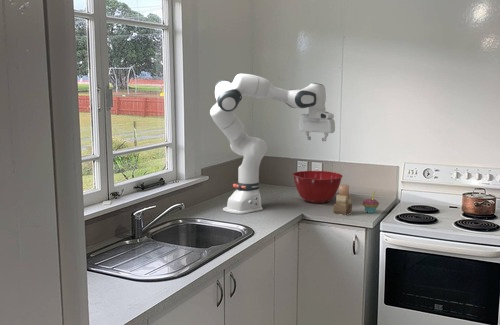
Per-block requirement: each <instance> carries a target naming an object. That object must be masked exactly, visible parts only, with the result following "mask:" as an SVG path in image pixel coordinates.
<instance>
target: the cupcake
mask: <svg viewBox="0 0 500 325" xmlns="http://www.w3.org/2000/svg"><path fill="white" fill-rule="evenodd" d="M375 191H376V190H374V191H373V192H372V198H366V199H364V200H363V201H362V204H361V205H362V206H363V208H364V210H365V213H367V212H368V213H367V214H375V213H376V211H377V208H378V207H379V206H380V202H379V201H378V200H376V199H375V194H376V192H375ZM374 212H375V213H374Z"/></svg>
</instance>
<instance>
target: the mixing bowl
mask: <svg viewBox="0 0 500 325" xmlns="http://www.w3.org/2000/svg"><path fill="white" fill-rule="evenodd" d="M292 176H293V180H294V184H295V187H296V190H297V192H298V195H299V196H300V198H302V199H303V200H304V201H305V202H307V203H310V204H311V203H313V204H323V203H324V204H325V203H328V202H329V201H331V200H332V199H333V198H334V197H335V195H337V194H336V193H337V191H339V185H341V183H342V182H341V181H342V179H343V174H341V173H338V172H333V171H327V170H326V171H325V170H324V171H323V170H301V171H296V172H294V173H292Z"/></svg>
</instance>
